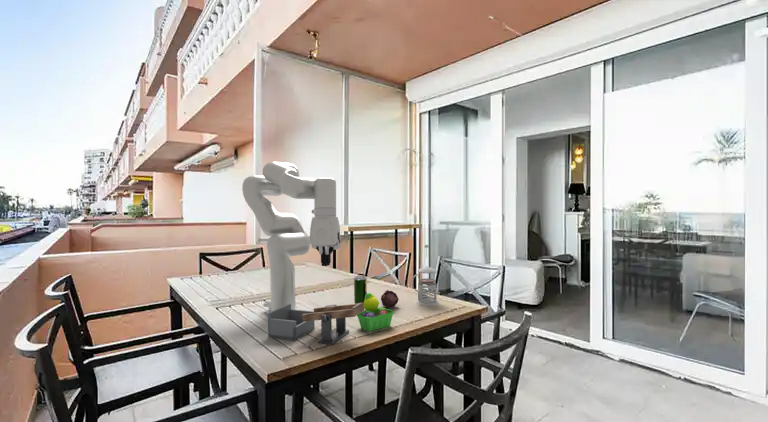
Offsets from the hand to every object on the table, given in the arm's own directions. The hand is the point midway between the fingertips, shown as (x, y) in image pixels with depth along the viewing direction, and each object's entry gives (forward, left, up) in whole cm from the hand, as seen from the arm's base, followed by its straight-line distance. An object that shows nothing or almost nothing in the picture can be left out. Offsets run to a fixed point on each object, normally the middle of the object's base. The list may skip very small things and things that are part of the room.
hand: (325, 265), depth 130 cm
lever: (+8, -6, -14) cm, 17 cm away
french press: (+26, +40, -22) cm, 53 cm away
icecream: (+13, +30, -22) cm, 39 cm away
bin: (-8, -10, -21) cm, 25 cm away
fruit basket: (+16, +4, -22) cm, 27 cm away
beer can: (0, +30, -22) cm, 37 cm away
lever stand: (+8, -10, -21) cm, 25 cm away
